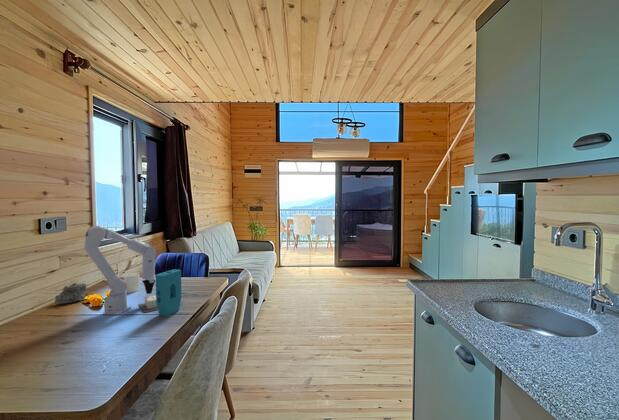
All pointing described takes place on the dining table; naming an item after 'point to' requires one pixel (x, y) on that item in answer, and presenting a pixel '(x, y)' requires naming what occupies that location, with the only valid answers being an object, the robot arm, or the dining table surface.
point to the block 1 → (150, 302)
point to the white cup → (132, 282)
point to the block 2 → (168, 292)
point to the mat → (146, 308)
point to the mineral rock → (72, 294)
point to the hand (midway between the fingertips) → (149, 293)
